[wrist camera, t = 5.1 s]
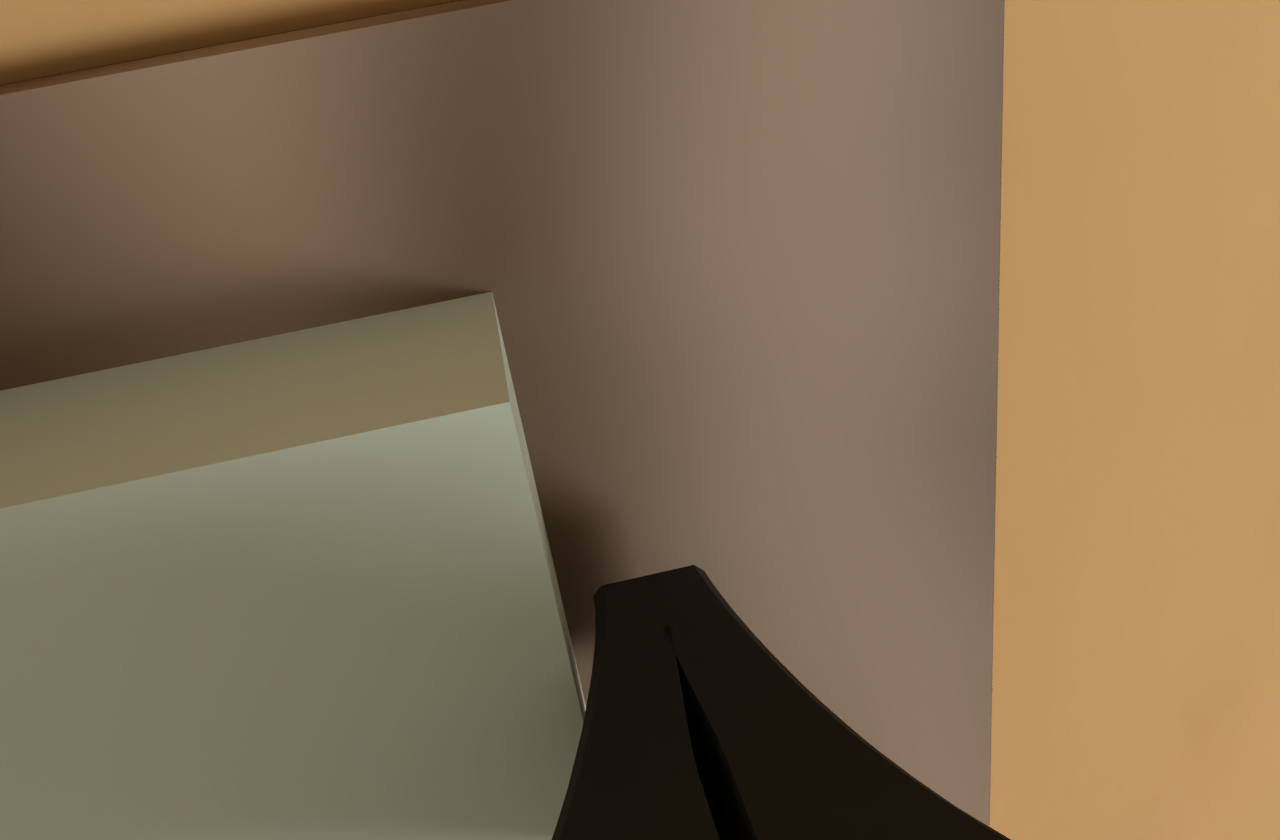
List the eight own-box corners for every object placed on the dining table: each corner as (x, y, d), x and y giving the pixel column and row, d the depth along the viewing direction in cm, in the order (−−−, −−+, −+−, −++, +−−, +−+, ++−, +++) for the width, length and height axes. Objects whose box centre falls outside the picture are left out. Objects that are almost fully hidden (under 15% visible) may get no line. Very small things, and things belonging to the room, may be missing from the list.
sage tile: (492, 291, 12) (509, 402, 9) (617, 850, 16) (649, 1009, 14) (-664, 524, 11) (-922, 701, 9) (-195, 1049, 15) (-292, 1250, 13)
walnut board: (983, -97, 11) (1006, -92, 11) (974, 853, 18) (988, 879, 18) (-1857, 427, 9) (-1972, 459, 9) (-625, 1259, 16) (-653, 1299, 16)
